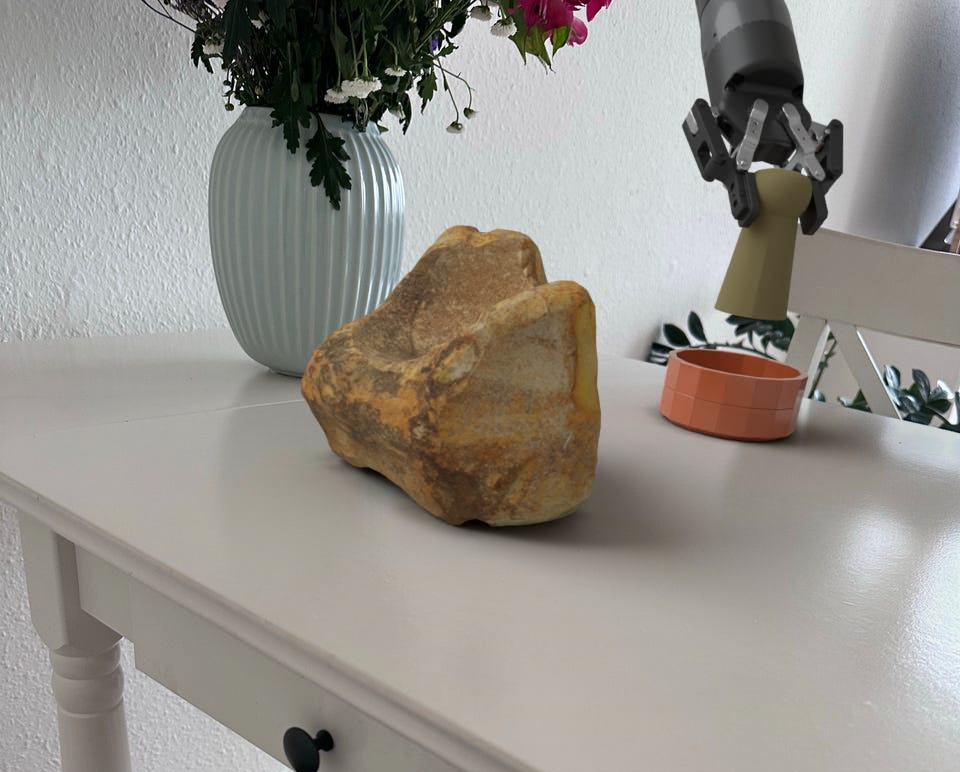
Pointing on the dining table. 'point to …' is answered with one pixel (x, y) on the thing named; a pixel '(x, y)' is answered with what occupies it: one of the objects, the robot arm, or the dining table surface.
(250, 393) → the dining table surface
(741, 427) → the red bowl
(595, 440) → the rough brown rock
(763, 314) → the cork
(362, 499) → the dining table surface
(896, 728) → the dining table surface
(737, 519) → the dining table surface
